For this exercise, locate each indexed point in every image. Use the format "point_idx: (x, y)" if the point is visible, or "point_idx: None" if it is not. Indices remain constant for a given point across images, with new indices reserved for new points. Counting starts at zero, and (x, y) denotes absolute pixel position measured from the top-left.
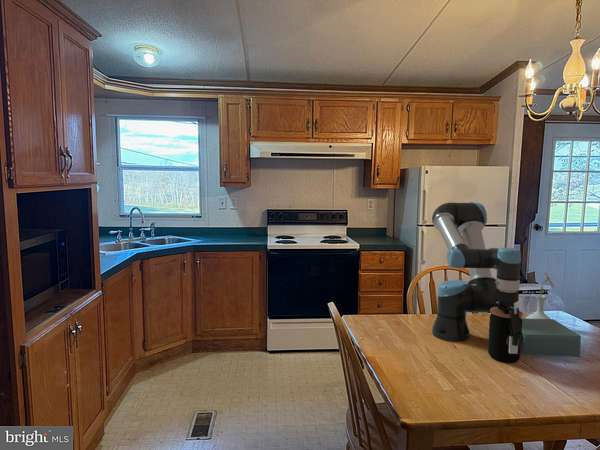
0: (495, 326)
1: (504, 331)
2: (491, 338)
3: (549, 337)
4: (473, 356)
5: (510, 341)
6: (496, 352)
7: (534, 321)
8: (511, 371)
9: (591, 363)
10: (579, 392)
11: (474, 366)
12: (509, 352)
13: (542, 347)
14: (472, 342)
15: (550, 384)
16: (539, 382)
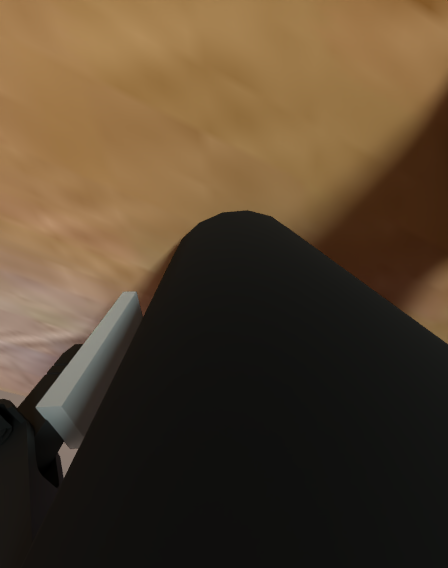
0: (167, 381)
1: (100, 405)
2: (235, 241)
3: None
4: (247, 104)
5: (77, 353)
6: (190, 237)
7: None
8: (97, 251)
9: None
10: (24, 377)
11: (86, 30)
12: (123, 294)
13: None
14: (425, 190)
15: (39, 335)
16: (37, 311)
